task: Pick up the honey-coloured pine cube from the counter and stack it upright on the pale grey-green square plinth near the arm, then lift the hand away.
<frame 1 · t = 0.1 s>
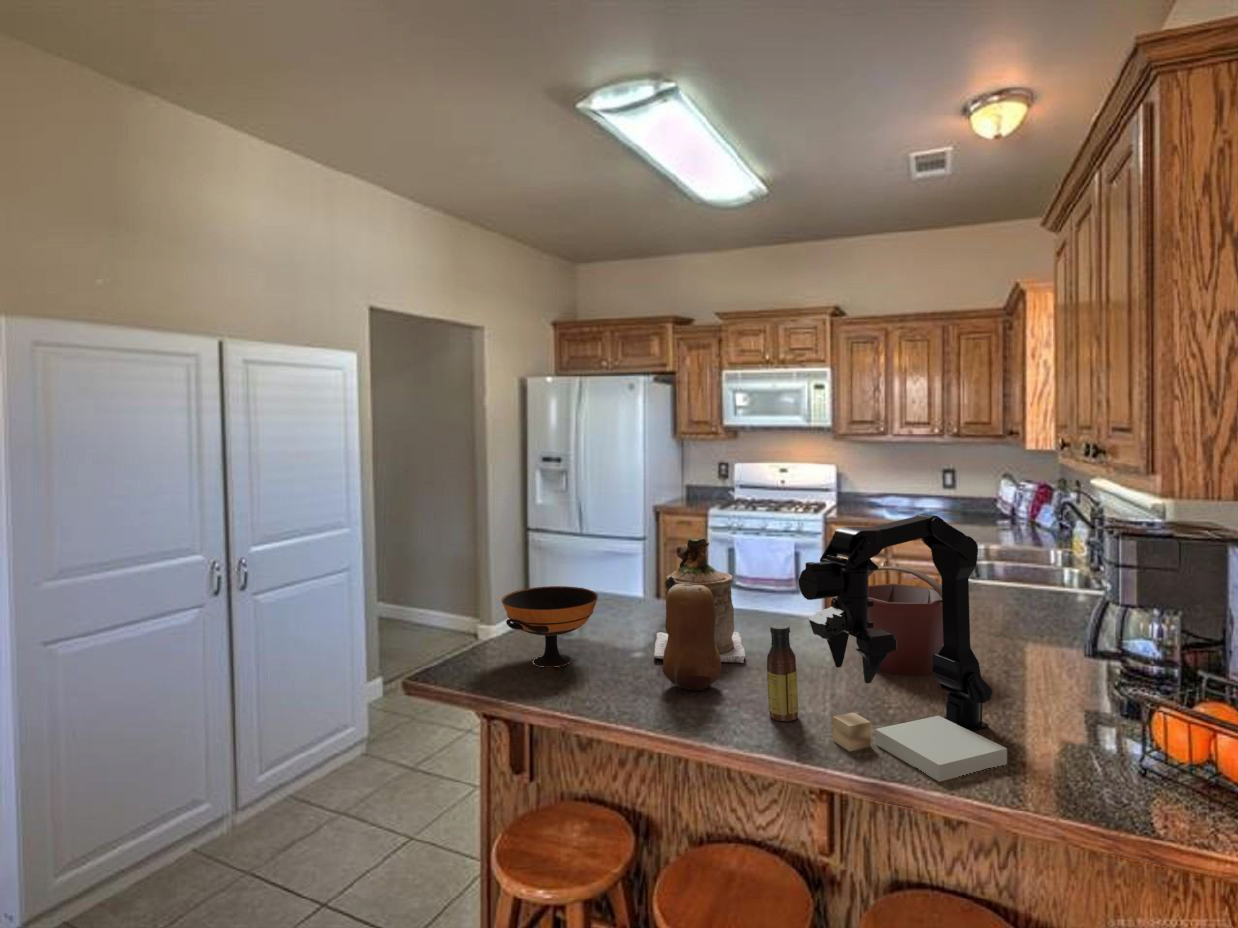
hand: (852, 674, 136), 14 cm above the counter, tool pointing down, fingers open, 9 cm apart
butternut squash: (691, 688, 170), on the counter
sauce bottle: (782, 717, 153), on the counter
pine cube: (851, 744, 139), on the counter
cup: (551, 662, 191), on the counter
plinth: (938, 753, 134), on the counter
bucket: (901, 664, 184), on the counter
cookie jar: (699, 650, 199), on the counter
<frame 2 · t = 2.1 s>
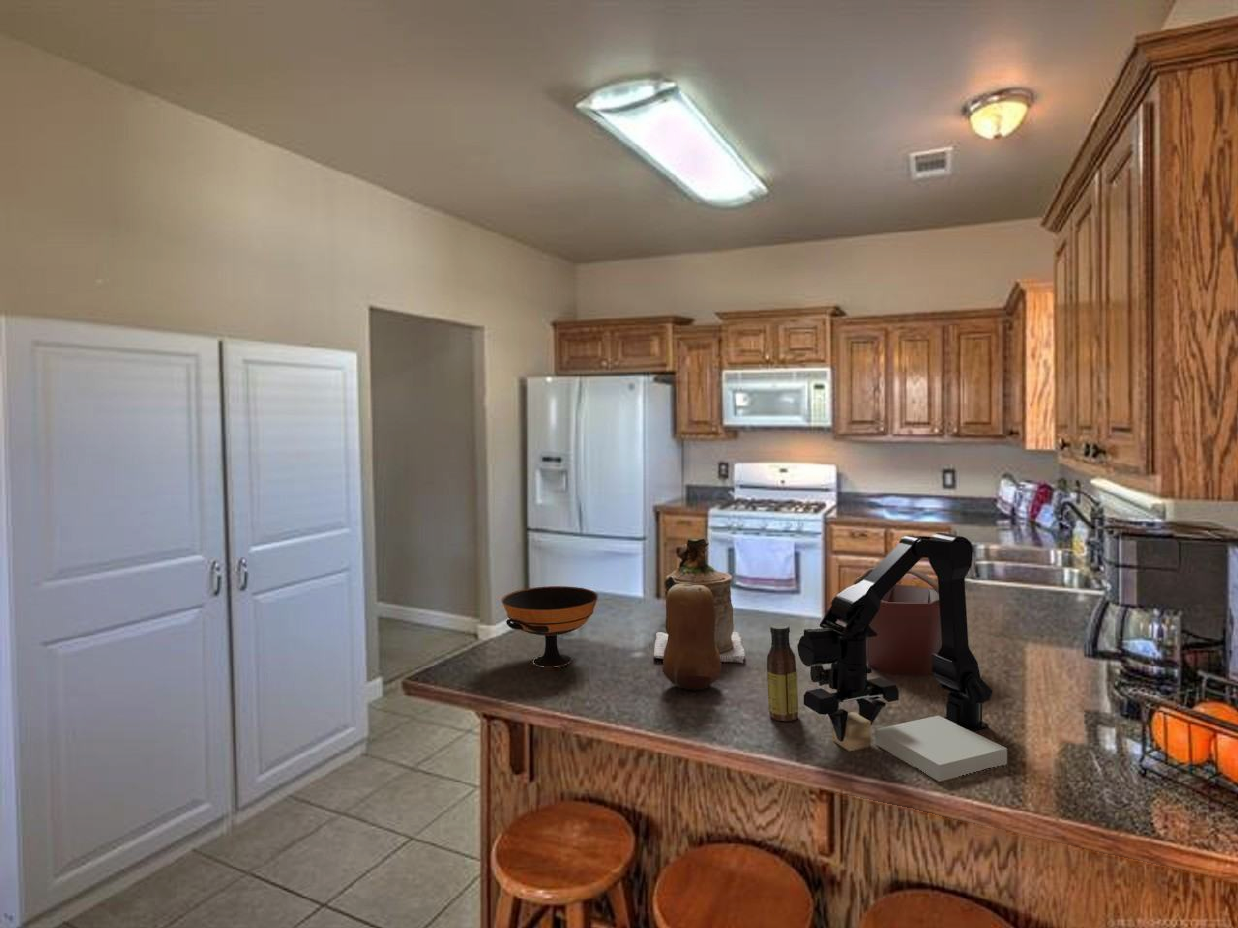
hand: (851, 738, 139), 1 cm above the counter, tool pointing down, fingers closed on pine cube, 5 cm apart
pine cube: (851, 743, 139), on the counter, touching gripper
everything else where it was.
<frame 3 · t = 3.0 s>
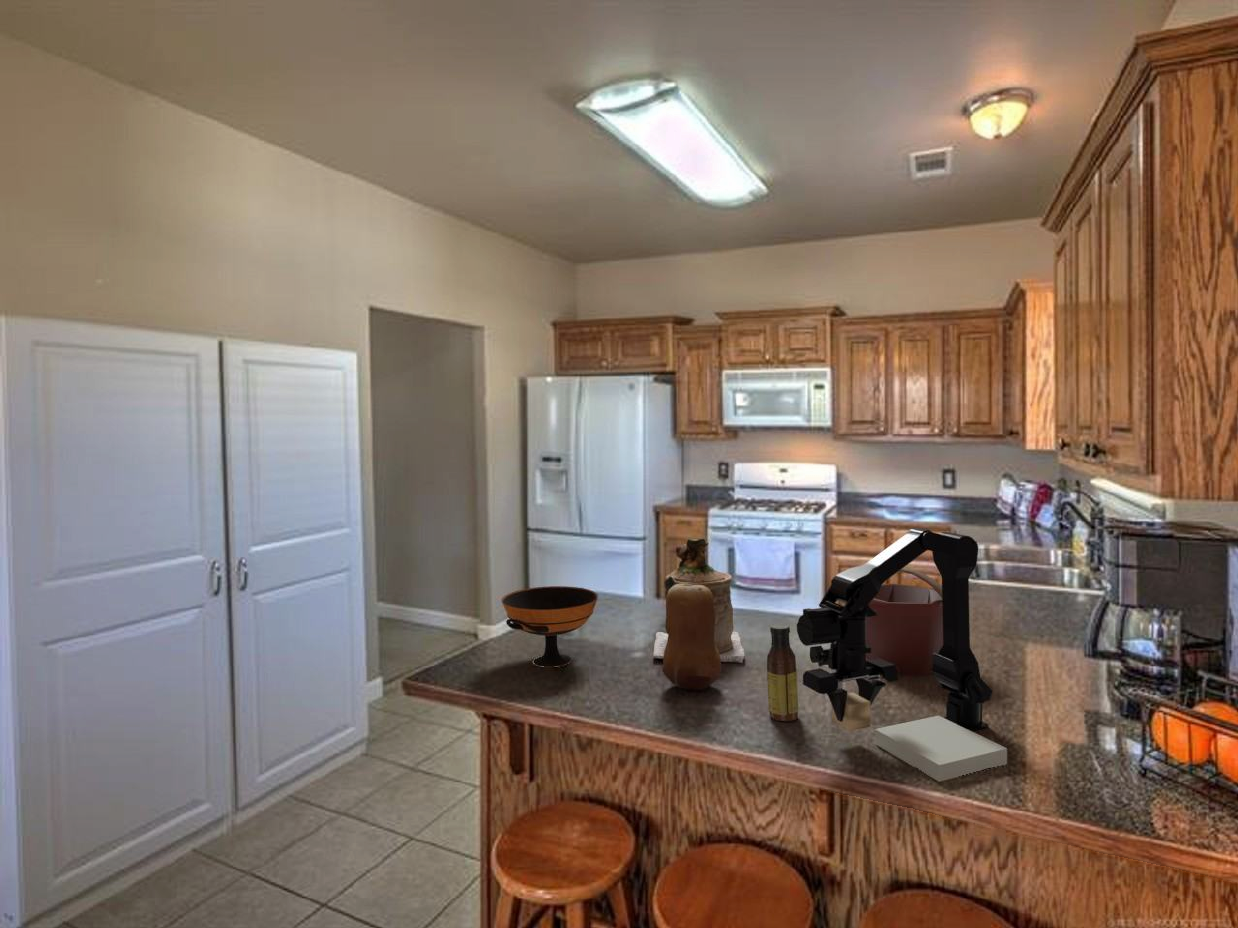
hand: (851, 718, 139), 5 cm above the counter, tool pointing down, fingers closed on pine cube, 5 cm apart
pine cube: (851, 723, 139), point 4 cm above the counter, touching gripper
everything else where it was.
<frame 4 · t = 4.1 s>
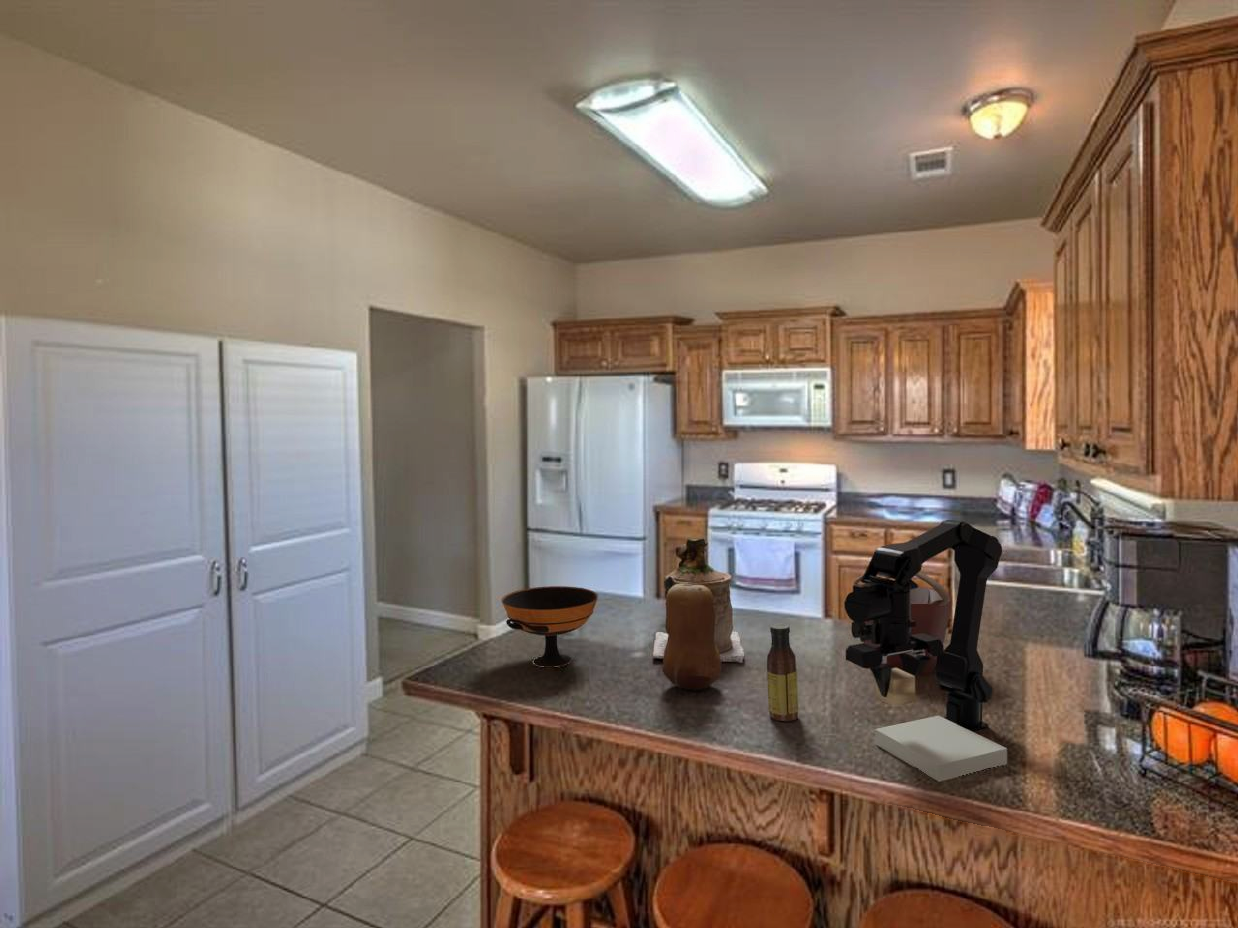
hand: (895, 693, 136), 11 cm above the counter, tool pointing down, fingers closed on pine cube, 5 cm apart
pine cube: (895, 699, 137), point 10 cm above the counter, touching gripper
everything else where it was.
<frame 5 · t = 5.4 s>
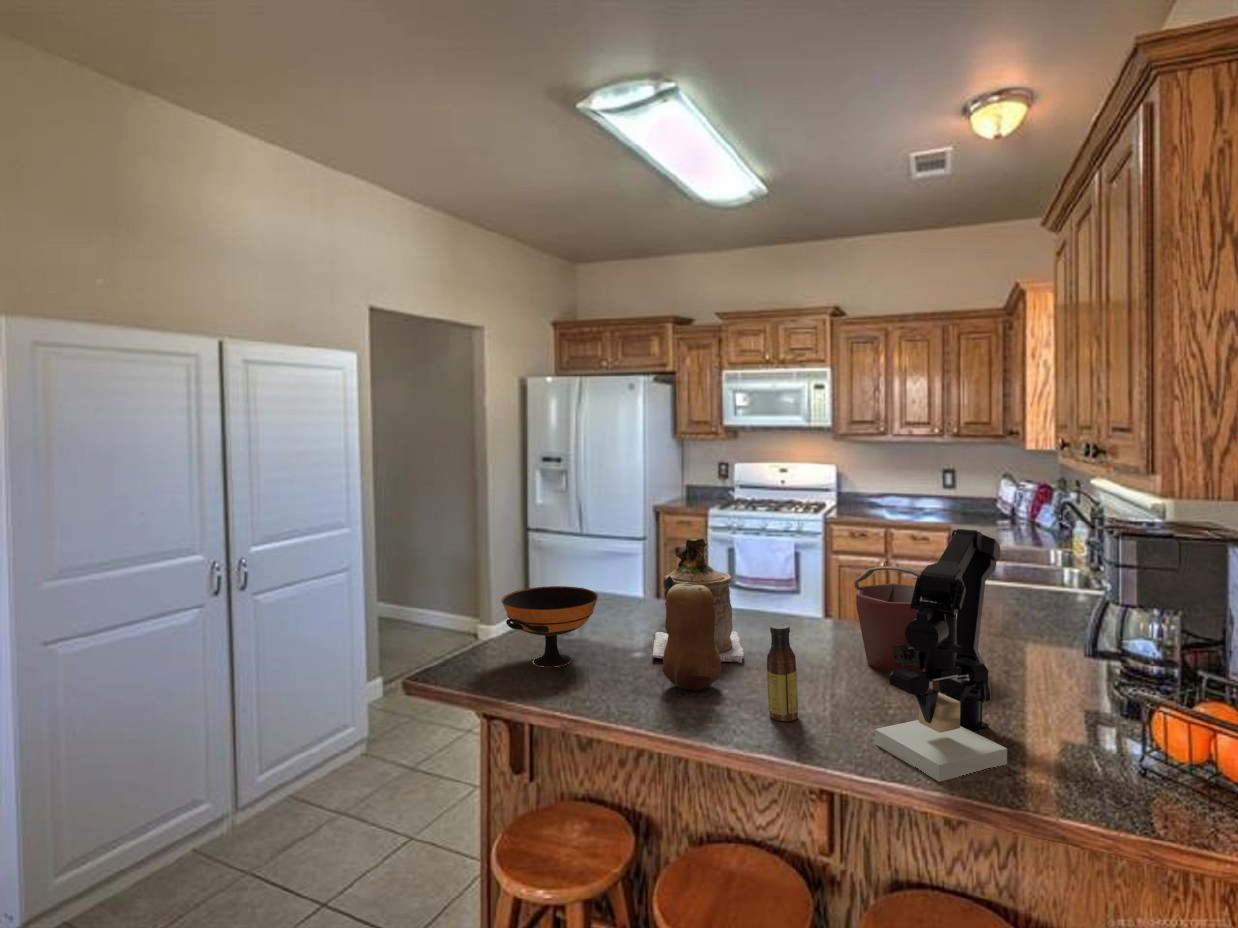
hand: (939, 719, 134), 7 cm above the counter, tool pointing down, fingers closed on pine cube, 5 cm apart
pine cube: (939, 725, 134), point 6 cm above the counter, touching gripper
everything else where it was.
when the fingers open (5 cm above the counter, at t = 6.1 s): pine cube stays where it is, resting on plinth.
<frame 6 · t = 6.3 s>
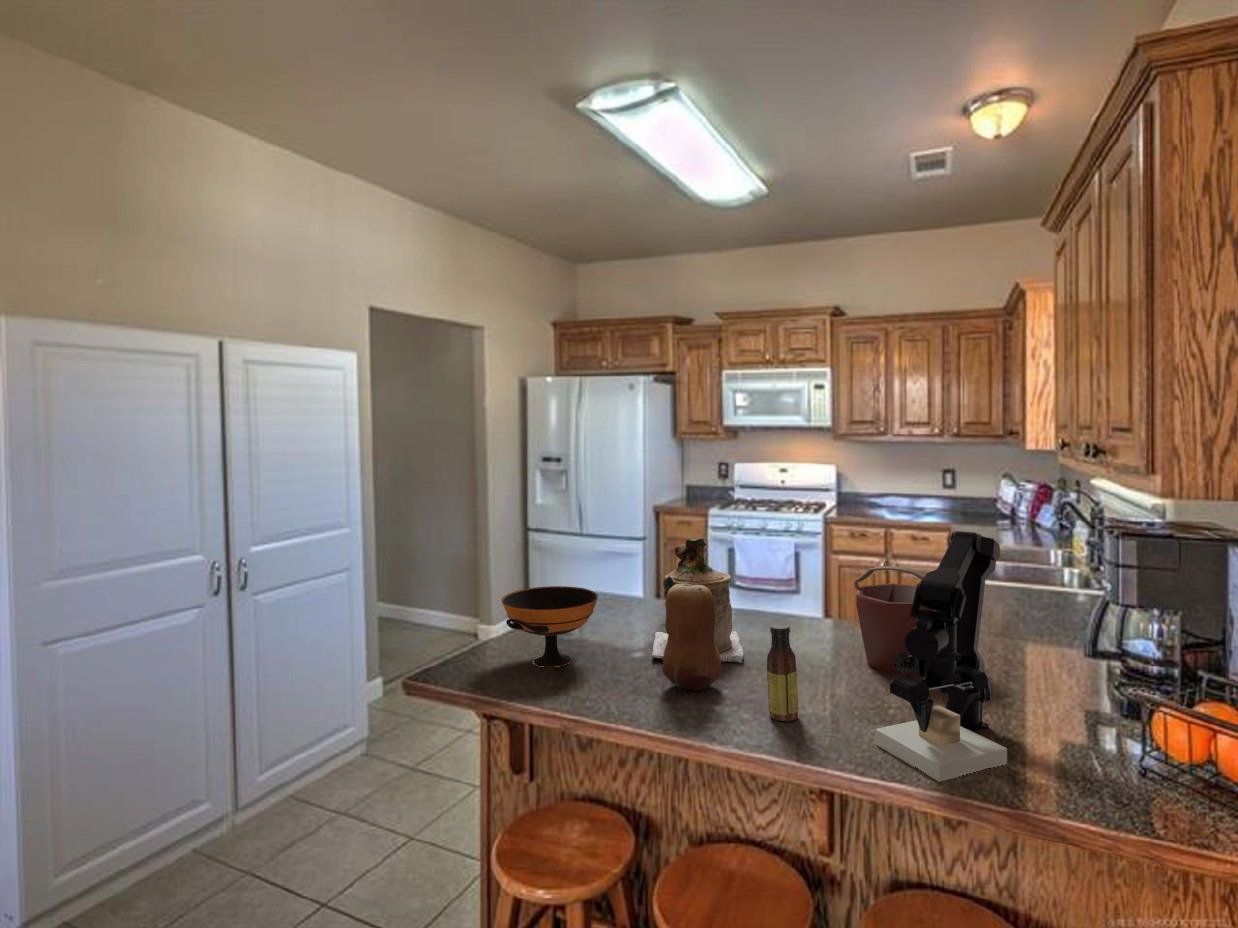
hand: (938, 727, 134), 5 cm above the counter, tool pointing down, fingers open, 7 cm apart
pine cube: (939, 738, 134), point 3 cm above the counter, touching plinth
everything else where it was.
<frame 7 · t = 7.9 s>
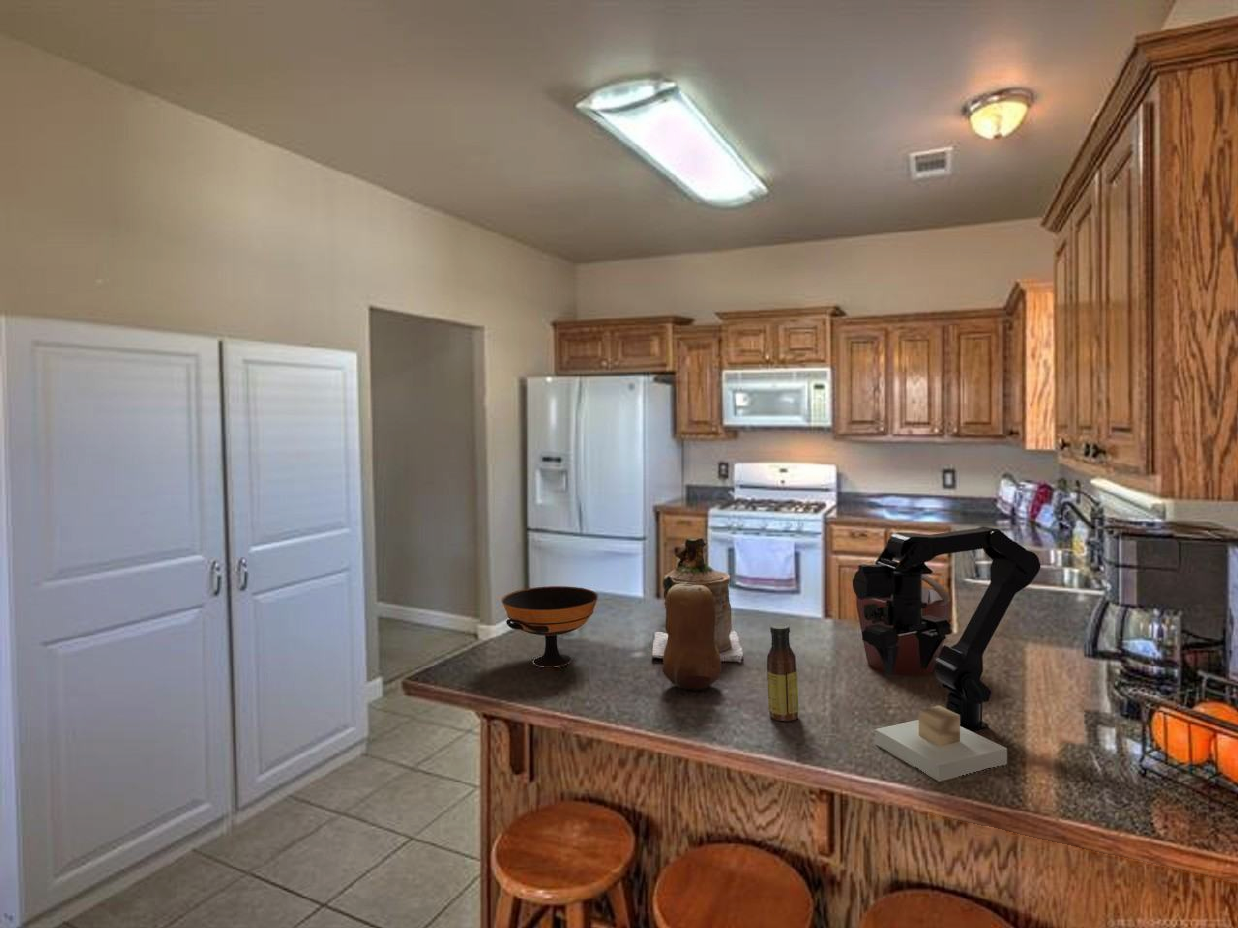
hand: (906, 672, 144), 12 cm above the counter, tool pointing down, fingers open, 9 cm apart
nothing on the counter moved.
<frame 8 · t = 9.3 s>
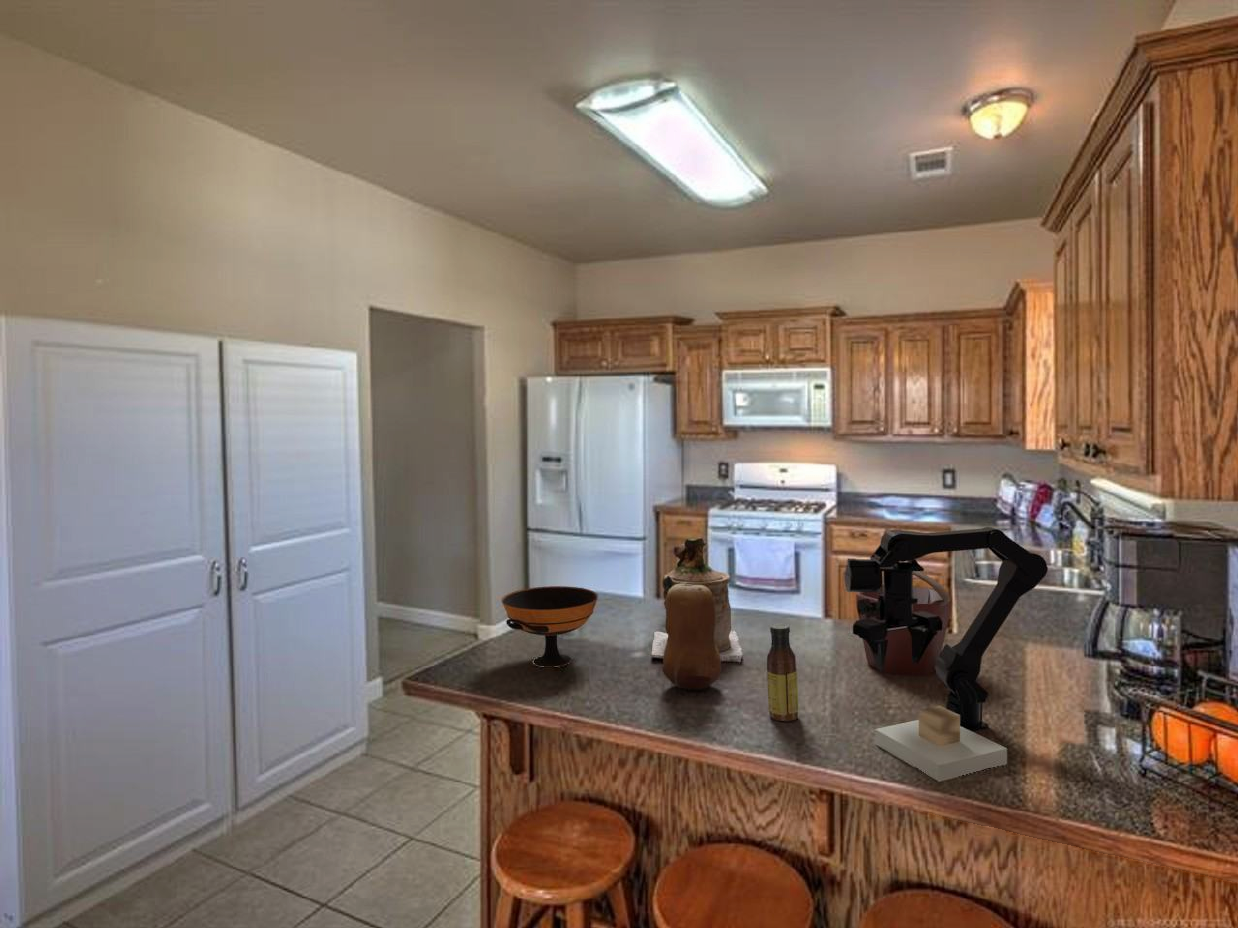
hand: (897, 666, 148), 12 cm above the counter, tool pointing down, fingers open, 9 cm apart
at the end: pine cube inside the target area on the plinth (0.0 cm from its centre), point 3.0 cm above the plinth's base; pine cube tilted 0°; the gripper is holding nothing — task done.
